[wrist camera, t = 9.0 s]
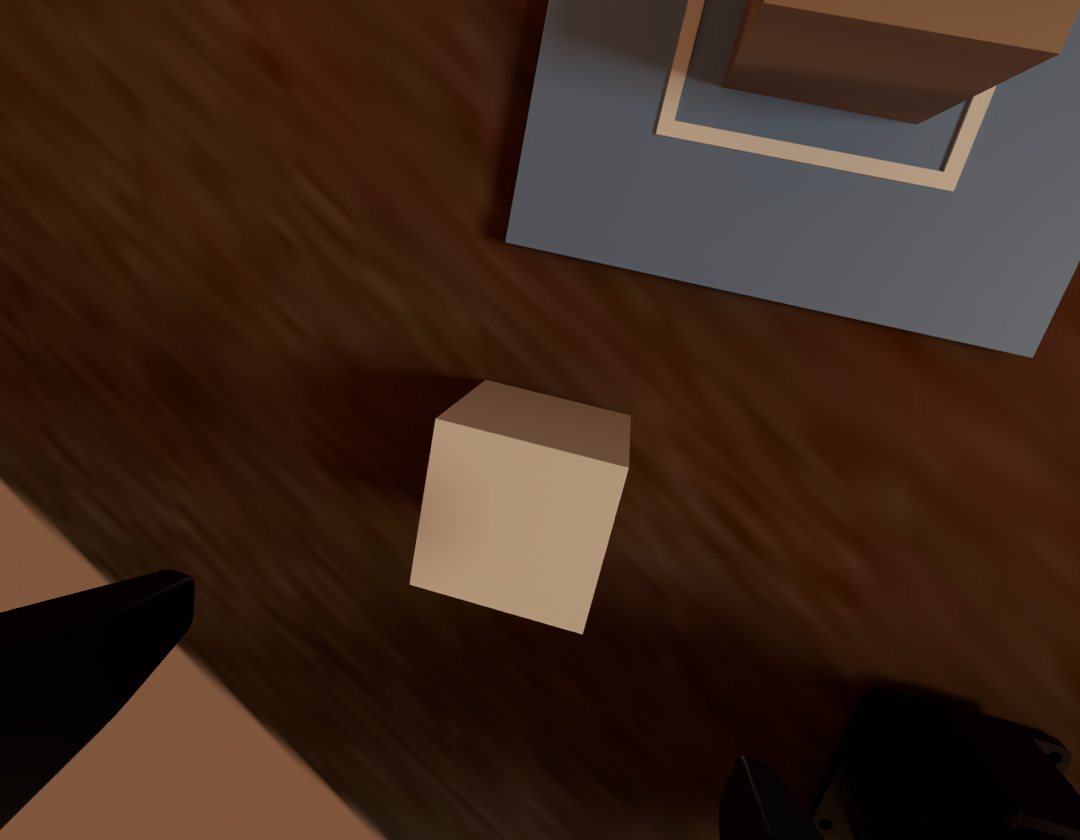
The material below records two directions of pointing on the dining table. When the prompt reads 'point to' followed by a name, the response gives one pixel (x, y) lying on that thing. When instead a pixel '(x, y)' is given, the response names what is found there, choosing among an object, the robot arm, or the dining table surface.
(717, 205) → the board
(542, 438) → the cream block
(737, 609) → the dining table surface
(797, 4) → the walnut block
